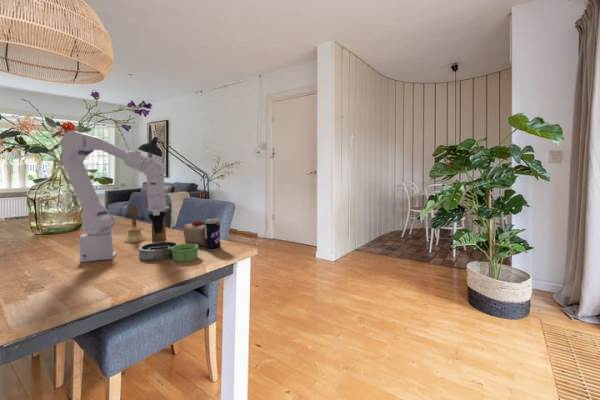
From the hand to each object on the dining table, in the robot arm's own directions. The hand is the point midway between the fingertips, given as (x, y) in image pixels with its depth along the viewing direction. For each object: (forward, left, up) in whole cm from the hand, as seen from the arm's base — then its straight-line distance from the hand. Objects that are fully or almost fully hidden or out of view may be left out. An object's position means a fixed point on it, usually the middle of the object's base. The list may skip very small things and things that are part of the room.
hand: (158, 232), depth 107 cm
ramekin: (+9, -8, -9) cm, 15 cm away
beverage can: (+19, 0, -9) cm, 21 cm away
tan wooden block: (0, 0, -3) cm, 4 cm away
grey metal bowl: (0, 0, -8) cm, 8 cm away
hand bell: (-11, +29, -9) cm, 32 cm away
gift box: (+15, +12, -9) cm, 21 cm away
